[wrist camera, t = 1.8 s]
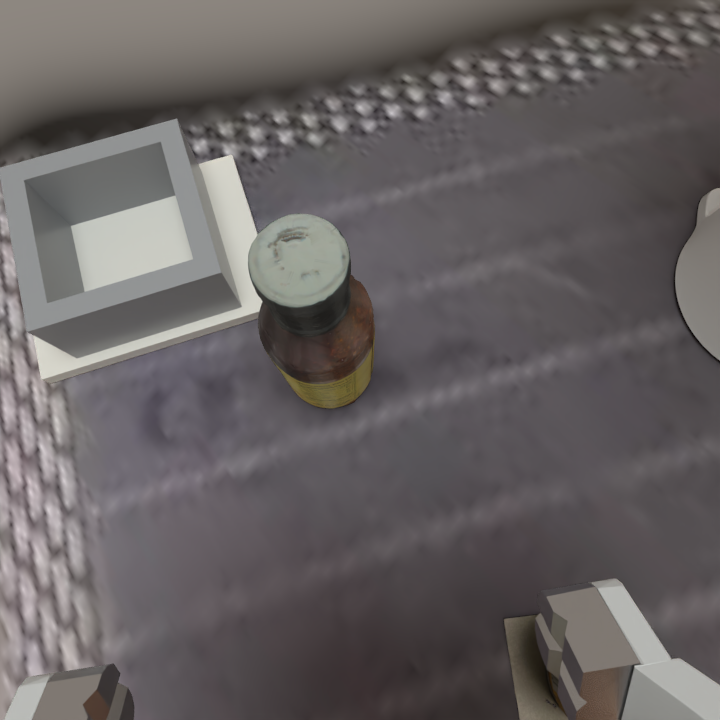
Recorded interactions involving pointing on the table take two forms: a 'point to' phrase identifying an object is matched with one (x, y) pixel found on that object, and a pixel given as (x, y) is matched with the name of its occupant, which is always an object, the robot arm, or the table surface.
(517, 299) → the table surface
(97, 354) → the box
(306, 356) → the sauce bottle
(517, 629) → the condiment
